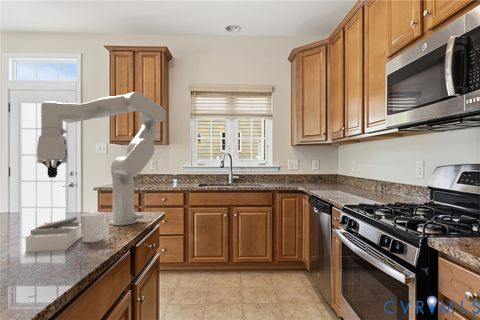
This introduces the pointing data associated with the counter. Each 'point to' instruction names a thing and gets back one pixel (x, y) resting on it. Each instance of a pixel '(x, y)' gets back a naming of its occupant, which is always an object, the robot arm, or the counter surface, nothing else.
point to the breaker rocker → (57, 223)
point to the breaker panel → (53, 238)
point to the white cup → (92, 226)
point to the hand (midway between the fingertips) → (52, 177)
